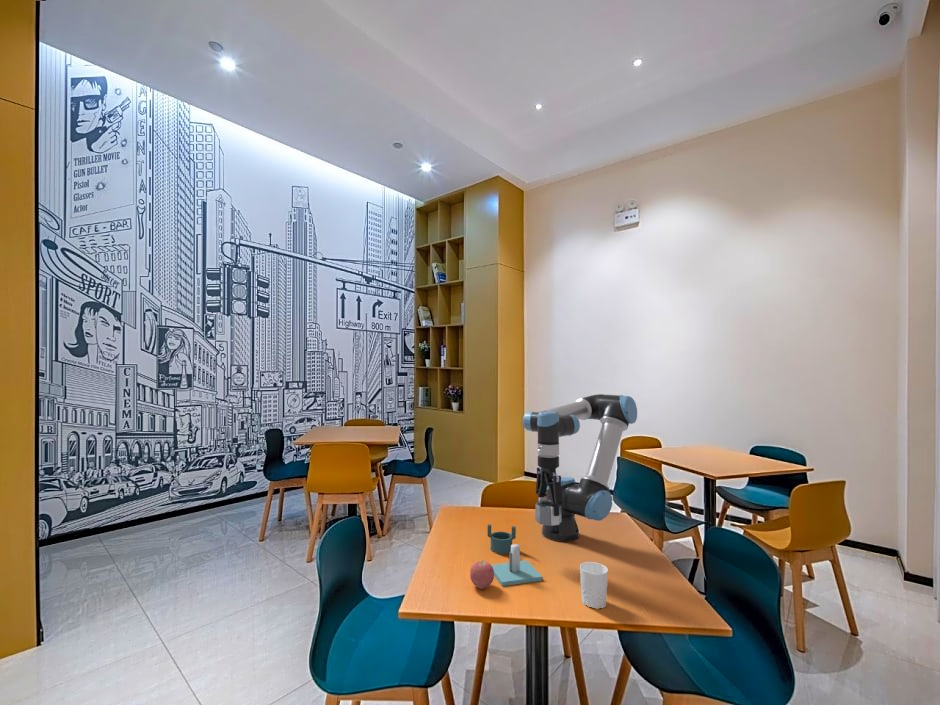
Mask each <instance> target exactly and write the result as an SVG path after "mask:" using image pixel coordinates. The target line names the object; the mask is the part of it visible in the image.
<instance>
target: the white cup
mask: <svg viewBox="0 0 940 705" xmlns="http://www.w3.org/2000/svg"><path fill="white" fill-rule="evenodd" d="M579 572H580V574H579V578H580V592H581V602H582V604H583V605H584V604H585V605H584V606H586V605H587V606H590V607H593V608H602V607H604V608H605V607H606V606H607V596H608V595H607V594H608V581H609V580H608V579H609V578H608V577H609V569H608V567H607V566H606V565H604V564H602V563H600V562H599V563H598V562H595V561H584V562H582V563H580V565H579ZM587 606H586V607H587ZM602 609H603V608H602Z"/></svg>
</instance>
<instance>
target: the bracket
mask: <svg viewBox="0 0 940 705" xmlns="http://www.w3.org/2000/svg"><path fill="white" fill-rule="evenodd" d="M516 529H517V526H514V525H512V526H511V533H510V532H506V531H493V532H492V524H487V533H486V534H487V537H488V538H490V551H491V552H492V553H494V554H496V555H497V554H498V555H508V554H509V552H511V545H512V544H513V541H514V540H515V539H516V538H517V537H516V535H517V534H516V533H517V530H516Z"/></svg>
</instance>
